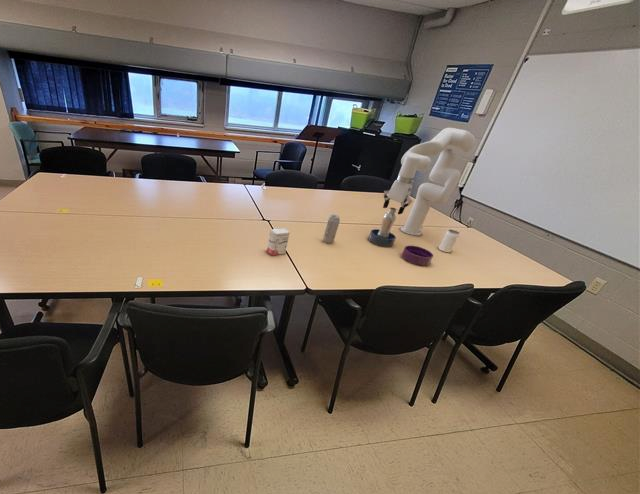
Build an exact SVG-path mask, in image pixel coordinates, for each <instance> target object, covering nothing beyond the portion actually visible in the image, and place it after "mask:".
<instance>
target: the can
mask: <svg viewBox="0 0 640 494" xmlns="http://www.w3.org/2000/svg"><path fill="white" fill-rule="evenodd" d="M459 236H460V232H459V231H457V230H454V229H448V230H447V231H446V233H445V234H444V236H443V238H442V240H441V242H440V244H439V246H438V250H440V251H441V252H443V253H451V251H452V250H453V248H454V246H455V244H456V242H457V240H458V238H459Z"/></svg>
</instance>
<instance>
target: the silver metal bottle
mask: <svg viewBox="0 0 640 494" xmlns="http://www.w3.org/2000/svg"><path fill="white" fill-rule="evenodd" d="M397 211H398V209H397V208H395V207H389V208H388V211H387V212H386V213H384V215H383V218H382V221H381V225H380V228H379V232H378V233H377V235H376V236H378V237H381V238H385V239H388V237H389V232H390V233H391V229H392V228H393V227H392V226H393V225H394V223H395V222H396V219H397V216H396V213H397Z"/></svg>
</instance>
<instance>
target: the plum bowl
mask: <svg viewBox="0 0 640 494" xmlns="http://www.w3.org/2000/svg"><path fill="white" fill-rule="evenodd" d="M401 257H402V258H403V260H405V261H407V262H409V263H411V264H414V265H418V266H429V265H430V263H431V262H432V259H433V258H434V253H432V252H431V251H430V250H428V249H426V248H423V247H422V246H421V247H420V246H417V245H405V246H404V247H403V250H402V253H401Z"/></svg>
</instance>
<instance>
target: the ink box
mask: <svg viewBox="0 0 640 494" xmlns="http://www.w3.org/2000/svg"><path fill="white" fill-rule="evenodd" d="M289 237H290V231H288V229H286V228H284V227H283V228H272V229H270V231H269V236H268V242H267V248H266V252H267V253H268V254H269V255H271V256H276V255H283V254H286V252H287V248H288V247H287V246H288V242H289Z"/></svg>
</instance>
